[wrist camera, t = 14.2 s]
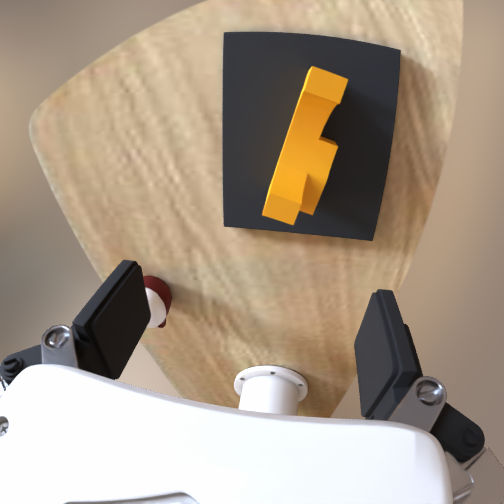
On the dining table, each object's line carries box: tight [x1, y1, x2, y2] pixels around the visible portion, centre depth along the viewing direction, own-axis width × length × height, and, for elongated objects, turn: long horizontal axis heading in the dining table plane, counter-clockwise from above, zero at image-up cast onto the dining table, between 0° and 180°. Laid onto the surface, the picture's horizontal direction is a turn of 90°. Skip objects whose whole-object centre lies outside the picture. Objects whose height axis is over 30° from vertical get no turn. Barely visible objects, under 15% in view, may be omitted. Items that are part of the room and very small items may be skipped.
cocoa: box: [143, 276, 172, 329], centre depth 34 cm, size 10×6×12 cm, turn 175°
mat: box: [223, 32, 401, 241], centre depth 26 cm, size 20×16×1 cm
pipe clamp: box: [262, 66, 348, 225], centre depth 23 cm, size 12×4×6 cm, turn 164°
